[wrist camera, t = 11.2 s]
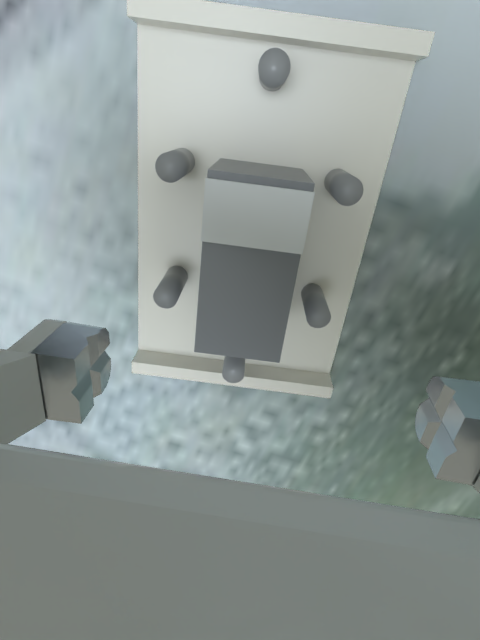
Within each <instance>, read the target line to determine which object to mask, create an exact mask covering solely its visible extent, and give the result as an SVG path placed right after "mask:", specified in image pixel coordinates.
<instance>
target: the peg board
mask: <svg viewBox="0 0 480 640" xmlns="http://www.w3.org/2000/svg"><path fill="white" fill-rule="evenodd" d="M127 16H128V17H129V18H130V19H132V20H133V21H134V22H136V23H137V74H138V351H137V353H136V355H135V357H134V359H133V360H132V373H136V374H143V375H151V376H159V377H167V378H175V379H182V380H190V381H198V382H206V383H214V384H222V385H229V386H237V387H245V388H253V389H261V390H268V391H276V392H284V393H292V394H300V395H307V396H315V397H323V398H331V395H332V391H333V384H332V380H331V377H330V371H331V368H332V364H333V361H334V357H335V353H336V350H337V346H338V342H339V339H340V335H341V331H342V328H343V324H344V321H345V317H346V313H347V310H348V306H349V302H350V299H351V295H352V291H353V288H354V284H355V281H356V277H357V273H358V270H359V266H360V262H361V259H362V255H363V251H364V248H365V244H366V241H367V237H368V233H369V230H370V226H371V222H372V219H373V215H374V211H375V208H376V204H377V201H378V197H379V193H380V190H381V186H382V182H383V179H384V175H385V171H386V168H387V164H388V161H389V157H390V153H391V150H392V146H393V142H394V139H395V135H396V132H397V128H398V124H399V121H400V117H401V113H402V110H403V106H404V102H405V99H406V95H407V92H408V88H409V84H410V81H411V77H412V73H413V70H414V66H415V62H416V61H418V60H421V59H424V58H426V57H428V56H429V52H430V49H431V45H432V42H433V38H434V35H435V32H432V31H424V30H417V29H410V28H402V27H395V26H388V25H380V24H373V23H366V22H358V21H351V20H344V19H336V18H329V17H321V16H314V15H307V14H299V13H292V12H285V11H277V10H270V9H263V8H255V7H248V6H241V5H233V4H226V3H219V2H211V1H204V0H127ZM220 158H224V159H232V160H239V161H247V162H255V163H262V164H270V165H277V166H285V167H292V168H300V169H303V170H304V171H305V172H306V173H307V175H308V176H309V177H310V178H311V179H312V181H313V182H314V183H315V186H314V192H315V195H314V200H313V205H312V210H311V215H310V220H309V225H308V230H307V235H306V240H305V245H304V250H303V255H302V254H301V257H300V262H299V267H298V272H297V277H296V282H295V287H294V292H293V297H292V302H291V307H290V312H289V317H288V322H287V328H286V333H285V338H284V343H283V348H282V353H281V358H280V363H276V362H268V361H260V360H253V359H245V358H237V357H229V356H222V355H214V354H206V353H198V352H194V347H195V333H196V320H197V306H198V293H199V280H200V266H201V253H202V241H201V232H202V218H203V204H204V191H205V178H206V177H207V173H208V169H209V168H210V167H211V166H212V165H213V164H214V163H216V162H217V161H218V160H219V159H220Z"/></svg>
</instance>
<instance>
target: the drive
mask: <svg viewBox="0 0 480 640" xmlns="http://www.w3.org/2000/svg"><path fill="white" fill-rule="evenodd" d="M314 186H315V183H314V182H313V181H312V179H311V178H310V177H309V176H308V175H307V173H306V172H305V171H304V170H303V169H300V168H292V167H285V166H277V165H270V164H262V163H255V162H247V161H239V160H232V159H224V158H220V159H219V160H218V161H217V162H216V163H214V164H213V165H212V166H211V167H210V168H209V169H208V173H207V177H206V178H205V191H204V204H203V218H202V232H201V241H202V253H201V266H200V280H199V293H198V306H197V320H196V333H195V347H194V352H198V353H206V354H214V355H222V356H229V357H237V358H245V359H253V360H260V361H268V362H276V363H280V358H281V353H282V348H283V343H284V338H285V333H286V328H287V322H288V317H289V312H290V307H291V302H292V297H293V292H294V287H295V282H296V277H297V272H298V267H299V262H300V257H301V254H302V255H303V250H304V245H305V240H306V235H307V230H308V225H309V220H310V215H311V210H312V205H313V200H314V195H315V192H314Z"/></svg>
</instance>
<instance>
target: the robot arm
mask: <svg viewBox="0 0 480 640" xmlns="http://www.w3.org/2000/svg"><path fill="white" fill-rule="evenodd" d="M109 344H110V341H109V332H108V331H107V329H106V328H102V327H96V326H90V325H84V324H78V323H72V322H66V321H60V320H52V319H45V320H43V321H42V322H41V323H40V324H38V325H37V326H36V327H35V328H33V329H32V330H31V331H30V332H28V333H27V334H26V335H25V336H23V337H22V338H21V339H20V340H18V341H17V342H16V343H15V344H13V345H12V346H11V347H10V348H9V349H7V350H4V349H0V640H480V519H475V518H468V517H462V516H456V515H449V514H443V513H437V512H431V511H424V510H418V509H412V508H405V507H399V506H393V505H386V504H380V503H374V502H368V501H361V500H355V499H349V498H342V497H336V496H330V495H323V494H317V493H311V492H304V491H298V490H292V489H285V488H279V487H273V486H267V485H260V484H254V483H248V482H241V481H235V480H229V479H223V478H216V477H210V476H204V475H197V474H191V473H185V472H178V471H172V470H166V469H160V468H153V467H147V466H141V465H134V464H128V463H122V462H116V461H109V460H103V459H97V458H90V457H84V456H78V455H72V454H65V453H59V452H53V451H46V450H40V449H34V448H28V447H21V446H15V445H9V444H8V443H10V442H11V441H13V440H15V439H16V438H18V437H20V436H21V435H23V434H25V433H27V432H28V431H30V430H32V429H33V428H35V427H37V426H38V425H40V424H42V423H43V422H45V421H46V419H49V420H57V421H65V422H73V423H82V422H83V420H84V419H85V417H86V416H87V414H88V413H89V412H90V410H91V409H92V407H93V406H94V401H93V398H94V397H96V396H98V395H100V394H102V392H103V391H104V389H105V388H106V386H107V383H108V380H109V377H110V370H111V358H110V357H109V356H108V355H107V353H106V352H105V351H104V350H105V349H106V348H107V347H108V345H109ZM426 392H427V394H428V397H429V398H428V399H427V400H425V401H424V402H422V403H421V404H420V405H419V408H418V411H417V413H416V420H415V429H416V434H417V437H418V439H419V442H420V443H421V444H423V445H424V446H425V447H426V448H427V449H429V450H428V452H427V454H426V458H427V460H428V463H429V465H430V467H431V469H432V472H433V474H434V476H435V479H440V480H446V481H451V482H457V483H462V484H468V485H473V487H474V488H475V489H476V490H477V491H478V492H479V493H480V382H479V381H471V380H462V379H454V378H446V377H436V376H433V378H432V379H431V380H430V381H429V383H428V386H427V388H426Z"/></svg>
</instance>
